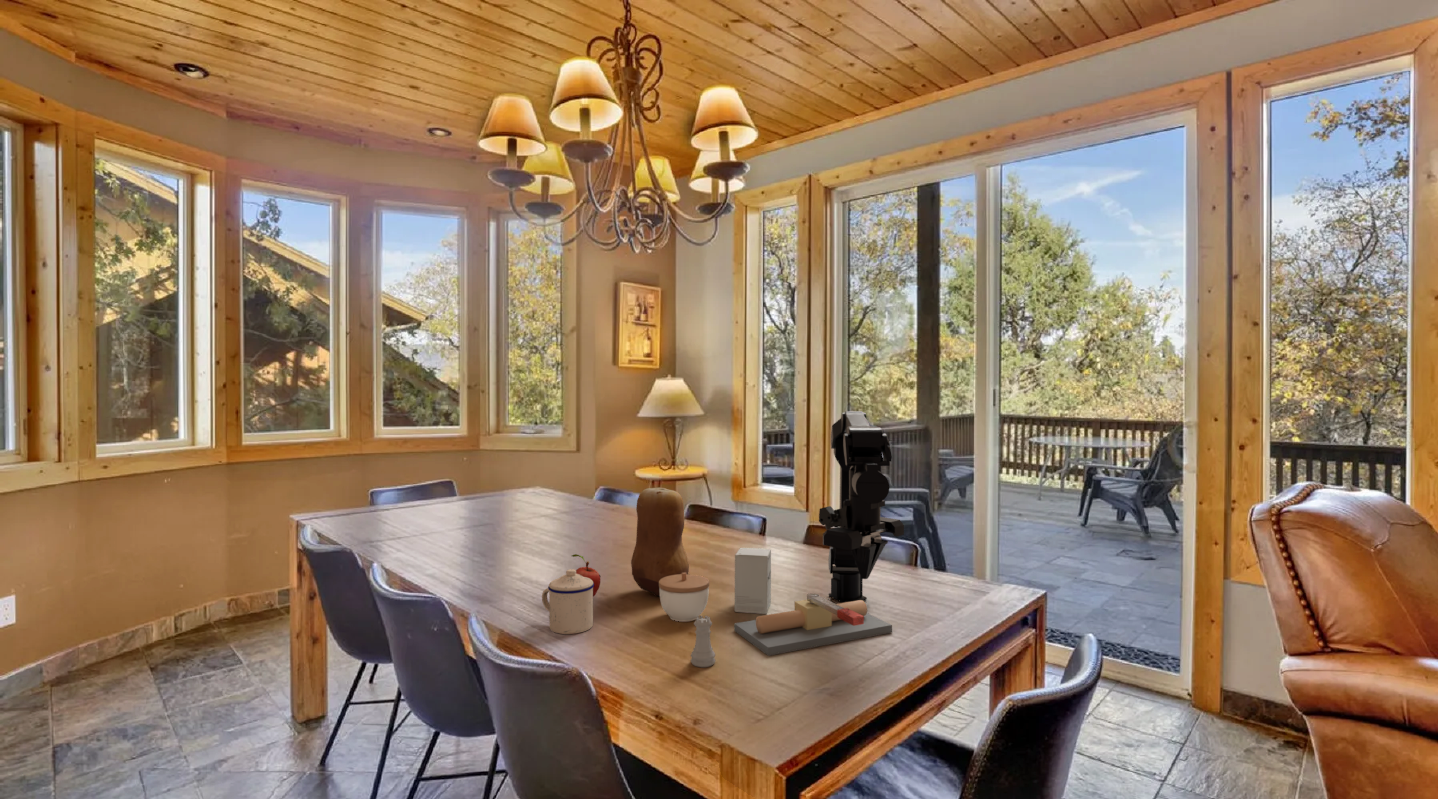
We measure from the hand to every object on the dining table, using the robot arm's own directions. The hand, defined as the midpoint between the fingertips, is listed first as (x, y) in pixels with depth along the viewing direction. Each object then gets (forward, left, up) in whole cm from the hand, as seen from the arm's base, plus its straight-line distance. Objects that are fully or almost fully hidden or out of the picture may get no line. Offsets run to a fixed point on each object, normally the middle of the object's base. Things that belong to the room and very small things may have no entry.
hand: (864, 578), depth 126 cm
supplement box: (+8, -29, -13) cm, 33 cm away
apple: (+40, -52, -13) cm, 67 cm away
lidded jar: (+24, -30, -13) cm, 41 cm away
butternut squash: (+23, -48, -13) cm, 55 cm away
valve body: (+4, -11, -13) cm, 18 cm away
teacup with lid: (+48, -35, -13) cm, 61 cm away
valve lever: (+4, -4, -7) cm, 9 cm away
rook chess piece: (+30, -6, -13) cm, 33 cm away
